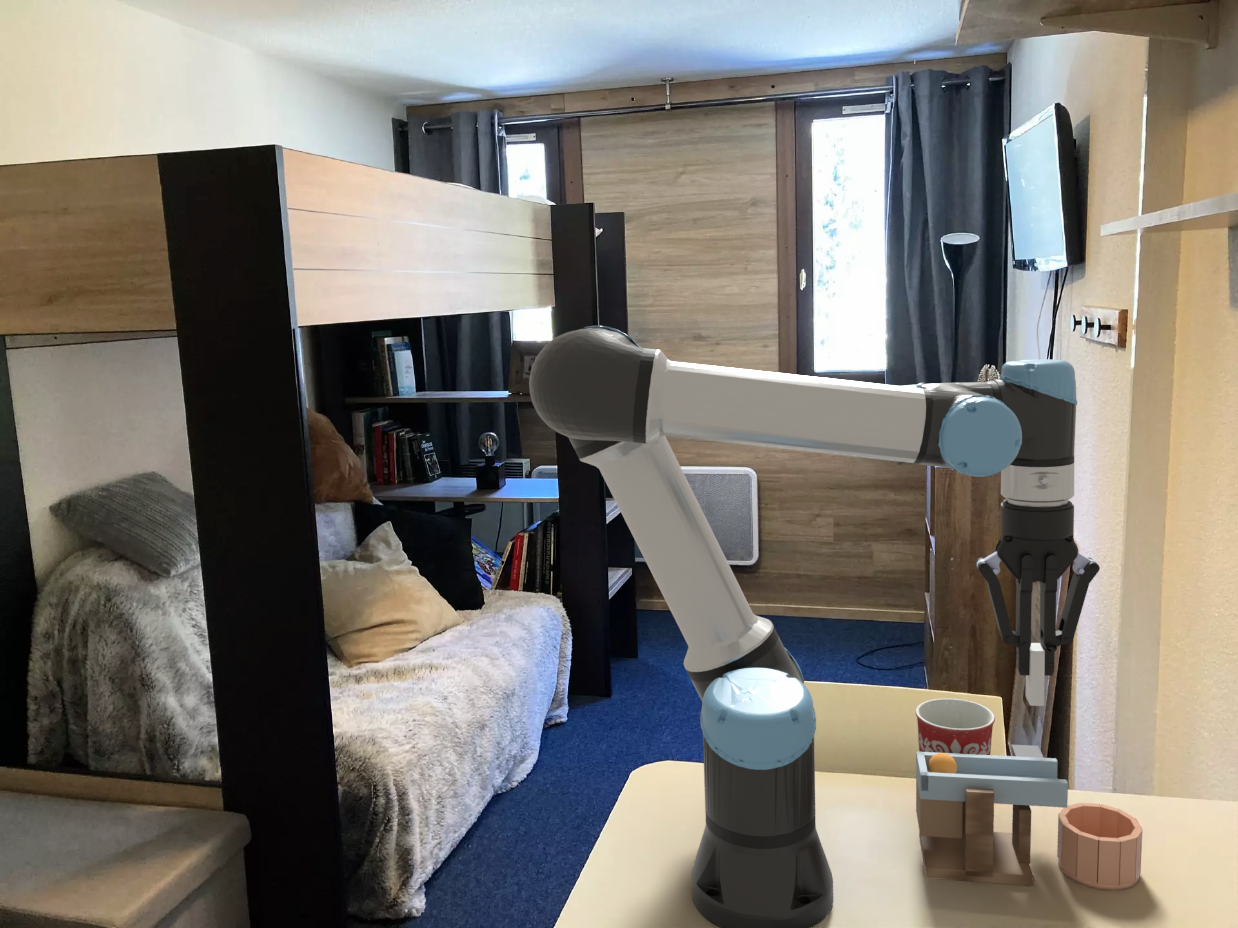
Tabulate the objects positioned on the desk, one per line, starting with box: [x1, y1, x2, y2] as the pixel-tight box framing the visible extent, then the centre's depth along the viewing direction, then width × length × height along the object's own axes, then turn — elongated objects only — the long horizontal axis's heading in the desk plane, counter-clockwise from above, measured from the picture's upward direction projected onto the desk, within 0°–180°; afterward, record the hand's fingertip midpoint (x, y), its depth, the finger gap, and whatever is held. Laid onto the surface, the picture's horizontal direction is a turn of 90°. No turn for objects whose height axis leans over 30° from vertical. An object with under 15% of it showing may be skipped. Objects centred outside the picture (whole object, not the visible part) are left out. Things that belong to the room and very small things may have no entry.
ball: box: [929, 753, 957, 774], centre depth 110 cm, size 3×3×3 cm
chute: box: [915, 744, 1069, 838], centre depth 113 cm, size 15×13×7 cm
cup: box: [1056, 802, 1143, 891], centre depth 108 cm, size 8×8×6 cm
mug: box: [915, 698, 996, 755], centre depth 121 cm, size 13×9×14 cm
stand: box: [918, 788, 1034, 887], centre depth 111 cm, size 11×9×10 cm
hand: (1034, 700), depth 114 cm, fingers closed
